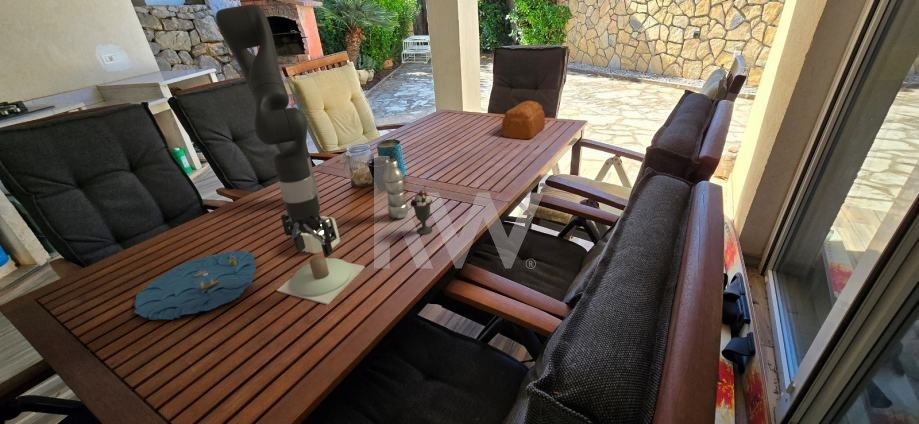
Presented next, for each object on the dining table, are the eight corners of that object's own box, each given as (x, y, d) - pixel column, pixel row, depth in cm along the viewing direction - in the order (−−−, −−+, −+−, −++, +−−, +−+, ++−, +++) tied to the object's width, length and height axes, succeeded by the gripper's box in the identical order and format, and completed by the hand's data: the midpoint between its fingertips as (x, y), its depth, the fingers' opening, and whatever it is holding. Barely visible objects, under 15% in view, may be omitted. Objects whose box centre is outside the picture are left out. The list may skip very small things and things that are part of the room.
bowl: (292, 249, 120) (287, 232, 117) (317, 230, 129) (313, 214, 126) (323, 255, 116) (318, 238, 113) (346, 236, 125) (343, 219, 122)
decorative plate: (173, 344, 88) (164, 327, 85) (116, 301, 102) (106, 285, 100) (286, 273, 109) (281, 257, 107) (226, 246, 124) (220, 231, 122)
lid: (279, 289, 102) (273, 272, 99) (317, 257, 114) (313, 241, 111) (327, 301, 97) (322, 283, 94) (361, 266, 109) (358, 249, 106)
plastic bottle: (405, 221, 131) (397, 164, 122) (386, 220, 133) (377, 164, 123) (411, 212, 137) (404, 157, 128) (392, 211, 138) (384, 157, 129)
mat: (277, 291, 102) (276, 290, 102) (318, 257, 115) (317, 256, 115) (327, 304, 96) (327, 303, 96) (364, 267, 109) (364, 266, 109)
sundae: (438, 226, 127) (434, 183, 120) (430, 237, 122) (425, 192, 115) (419, 224, 129) (414, 181, 122) (410, 234, 124) (405, 190, 117)
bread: (546, 127, 219) (547, 100, 212) (531, 140, 200) (532, 111, 193) (517, 124, 226) (517, 98, 219) (499, 137, 208) (499, 108, 201)
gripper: (264, 197, 93) (282, 255, 101) (312, 205, 88) (328, 265, 96) (288, 185, 100) (303, 240, 107) (334, 191, 94) (346, 249, 102)
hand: (314, 252), depth 101 cm, fingers open, 8 cm apart
